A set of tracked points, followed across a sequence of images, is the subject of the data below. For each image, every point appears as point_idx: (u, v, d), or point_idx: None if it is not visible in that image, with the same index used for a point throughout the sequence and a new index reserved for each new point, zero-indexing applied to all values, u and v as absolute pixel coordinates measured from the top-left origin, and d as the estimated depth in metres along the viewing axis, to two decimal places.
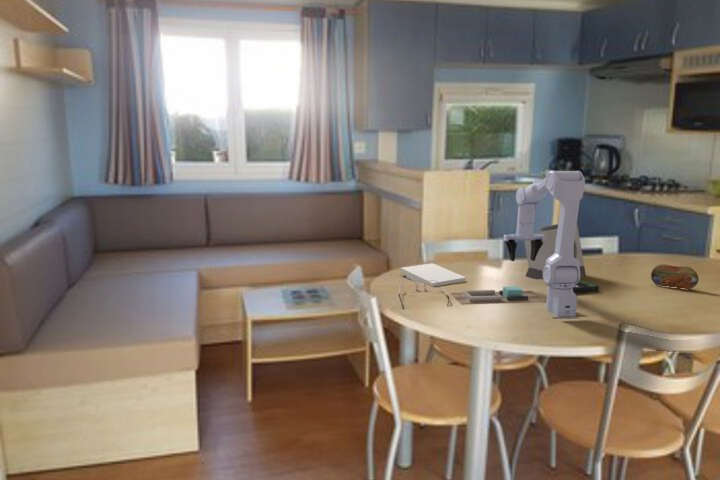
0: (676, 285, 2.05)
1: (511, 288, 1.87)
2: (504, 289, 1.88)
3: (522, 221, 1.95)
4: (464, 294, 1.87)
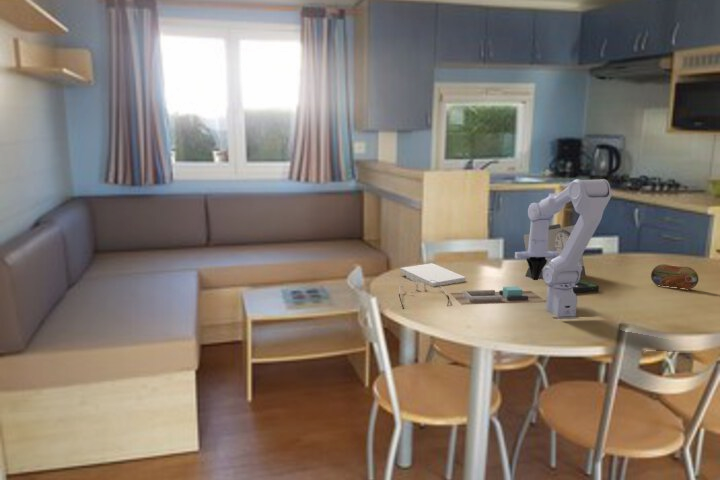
0: (676, 285, 2.05)
1: (511, 288, 1.87)
2: (504, 289, 1.88)
3: (536, 238, 1.83)
4: (464, 294, 1.87)
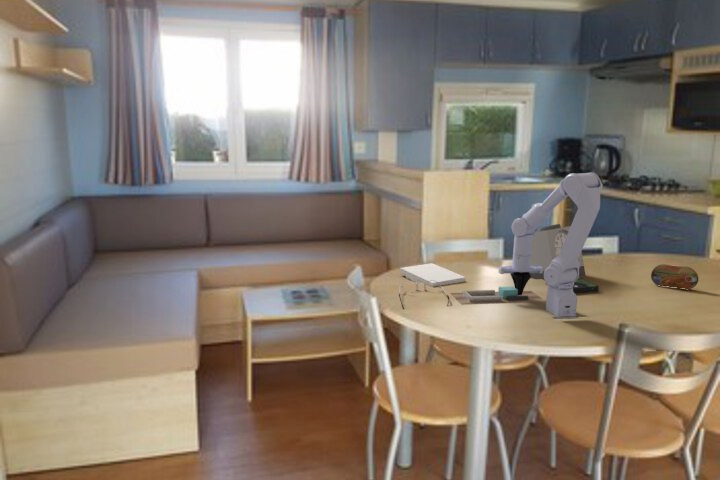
0: (676, 285, 2.05)
1: (507, 288, 1.87)
2: (500, 289, 1.88)
3: (522, 254, 1.82)
4: (464, 294, 1.87)
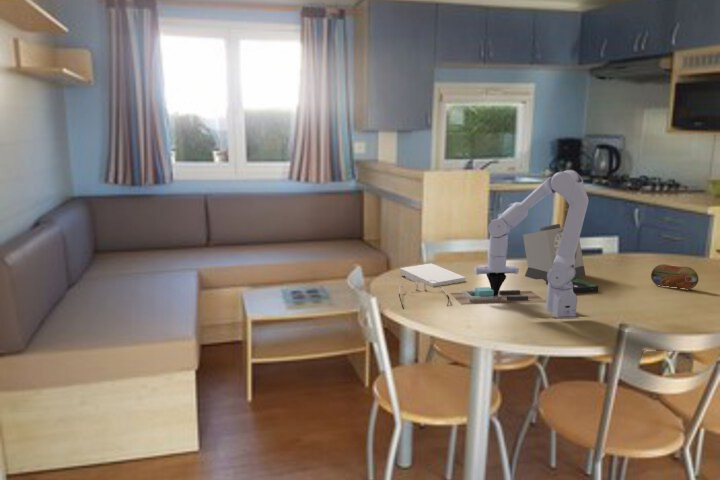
0: (676, 285, 2.05)
1: (483, 289, 1.86)
2: (476, 290, 1.86)
3: (501, 254, 1.81)
4: (464, 294, 1.87)
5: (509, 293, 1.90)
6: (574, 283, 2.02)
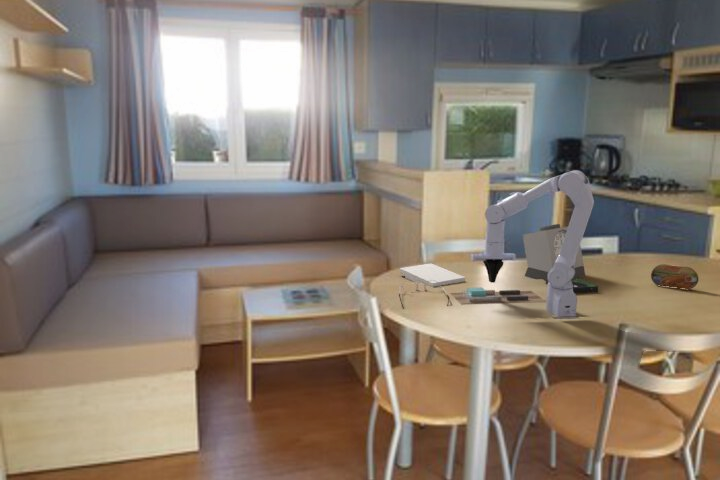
0: (676, 285, 2.05)
1: (475, 289, 1.85)
2: (468, 290, 1.86)
3: (498, 240, 1.80)
4: (464, 294, 1.87)
5: (509, 293, 1.90)
6: (574, 283, 2.02)
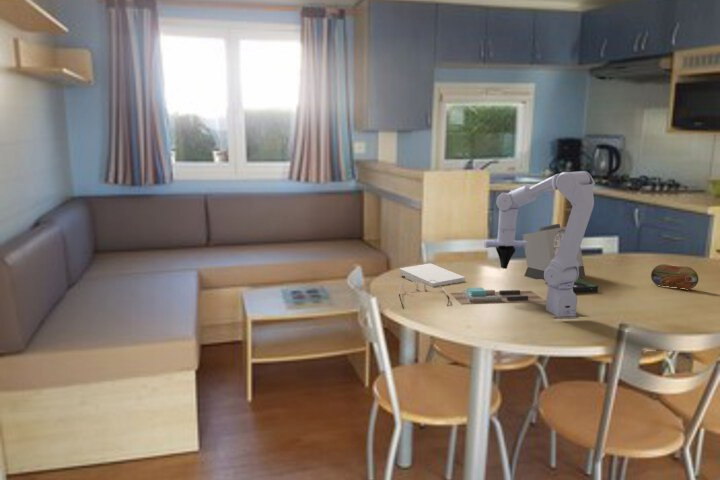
0: (676, 285, 2.05)
1: (475, 289, 1.85)
2: (468, 290, 1.86)
3: (507, 227, 1.86)
4: (464, 294, 1.87)
5: (509, 293, 1.90)
6: (574, 283, 2.02)
